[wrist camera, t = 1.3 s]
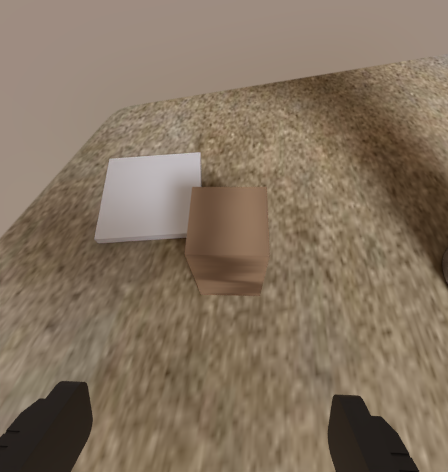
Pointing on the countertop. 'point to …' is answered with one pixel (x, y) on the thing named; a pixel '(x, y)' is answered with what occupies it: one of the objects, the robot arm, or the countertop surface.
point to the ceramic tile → (147, 197)
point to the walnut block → (228, 239)
